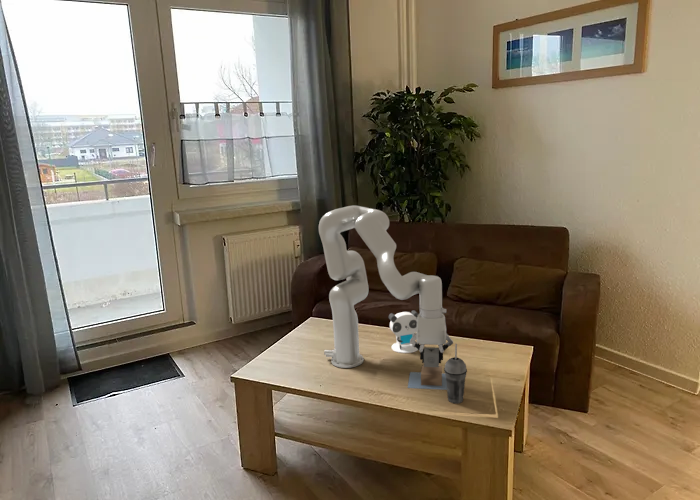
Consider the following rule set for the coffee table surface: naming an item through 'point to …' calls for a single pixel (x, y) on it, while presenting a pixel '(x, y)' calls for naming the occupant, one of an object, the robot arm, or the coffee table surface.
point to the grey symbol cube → (431, 357)
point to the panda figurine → (403, 330)
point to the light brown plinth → (431, 376)
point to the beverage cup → (455, 378)
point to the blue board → (416, 383)
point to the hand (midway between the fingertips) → (431, 361)
